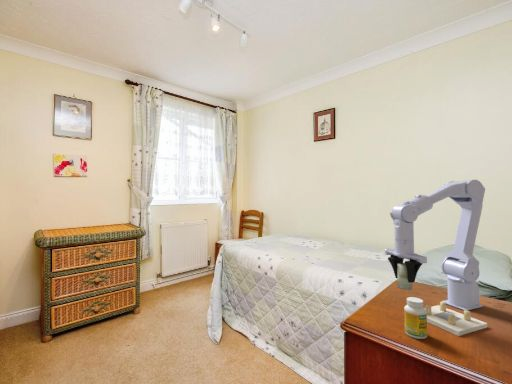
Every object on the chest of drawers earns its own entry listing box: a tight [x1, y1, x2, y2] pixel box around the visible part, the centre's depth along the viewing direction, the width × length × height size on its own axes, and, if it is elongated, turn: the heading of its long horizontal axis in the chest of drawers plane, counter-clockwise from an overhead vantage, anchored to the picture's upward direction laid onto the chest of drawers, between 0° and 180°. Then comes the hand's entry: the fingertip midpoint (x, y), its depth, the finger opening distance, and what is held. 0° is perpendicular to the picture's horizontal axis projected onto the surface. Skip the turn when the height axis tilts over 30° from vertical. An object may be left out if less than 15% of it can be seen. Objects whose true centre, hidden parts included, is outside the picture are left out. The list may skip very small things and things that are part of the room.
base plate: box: [424, 301, 488, 337], centre depth 80 cm, size 13×14×4 cm
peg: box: [396, 262, 413, 291], centre depth 89 cm, size 4×4×8 cm
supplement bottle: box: [403, 296, 428, 340], centre depth 72 cm, size 5×5×10 cm
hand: (404, 279), depth 89 cm, fingers closed on peg, 4 cm apart
